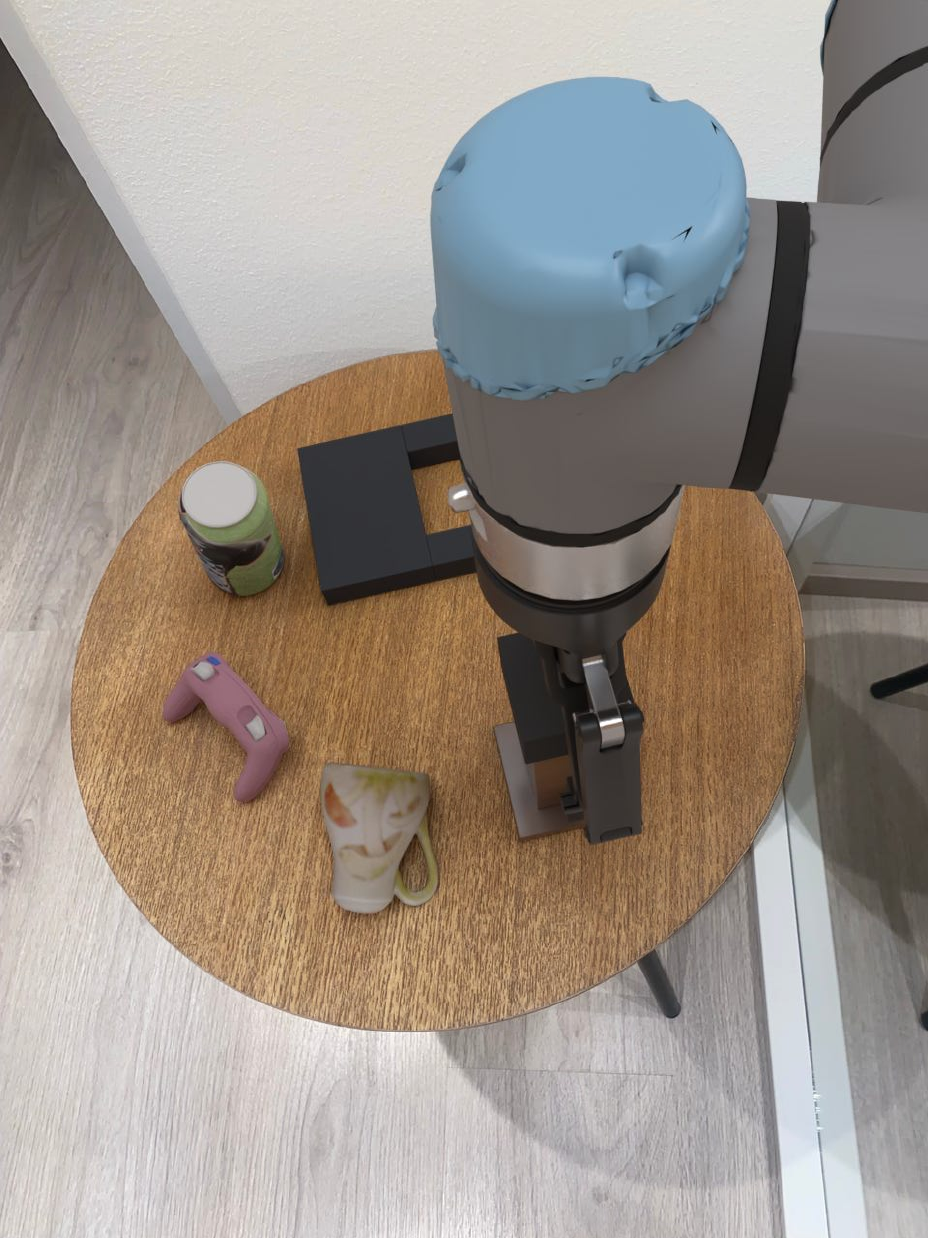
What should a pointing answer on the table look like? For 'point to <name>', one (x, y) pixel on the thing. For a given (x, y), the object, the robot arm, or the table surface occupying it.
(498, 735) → the stand
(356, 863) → the mug
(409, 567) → the base pad
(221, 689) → the video game controller
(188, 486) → the beverage can
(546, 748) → the black square block
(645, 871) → the table surface
